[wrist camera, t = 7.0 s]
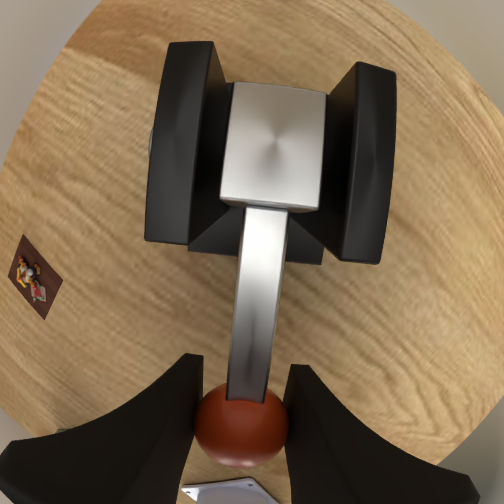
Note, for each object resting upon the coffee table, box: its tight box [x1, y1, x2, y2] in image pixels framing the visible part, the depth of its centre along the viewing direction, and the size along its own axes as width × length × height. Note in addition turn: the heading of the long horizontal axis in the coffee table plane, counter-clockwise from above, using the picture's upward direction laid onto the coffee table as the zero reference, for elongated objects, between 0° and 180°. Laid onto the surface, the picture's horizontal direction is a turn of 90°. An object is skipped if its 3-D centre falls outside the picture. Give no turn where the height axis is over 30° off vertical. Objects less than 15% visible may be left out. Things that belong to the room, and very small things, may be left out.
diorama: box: [8, 234, 63, 320], centre depth 15 cm, size 3×4×2 cm
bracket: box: [144, 41, 397, 265], centre depth 10 cm, size 9×7×10 cm
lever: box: [193, 81, 328, 468], centre depth 7 cm, size 11×3×3 cm, turn 174°
